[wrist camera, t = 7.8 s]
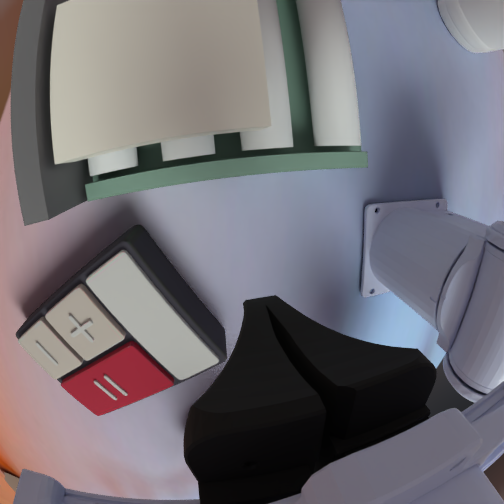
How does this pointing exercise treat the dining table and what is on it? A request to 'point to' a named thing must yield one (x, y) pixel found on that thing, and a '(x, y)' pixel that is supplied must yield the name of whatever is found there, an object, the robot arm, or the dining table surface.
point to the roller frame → (202, 147)
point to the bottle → (475, 23)
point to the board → (154, 73)
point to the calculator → (123, 328)
